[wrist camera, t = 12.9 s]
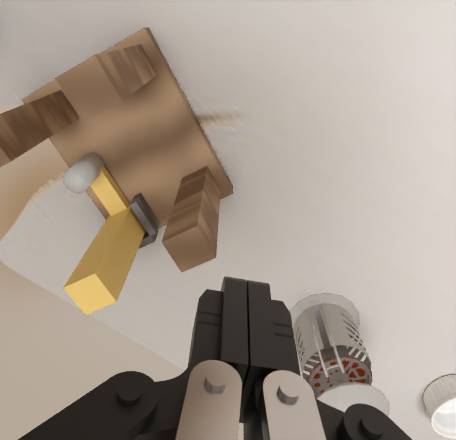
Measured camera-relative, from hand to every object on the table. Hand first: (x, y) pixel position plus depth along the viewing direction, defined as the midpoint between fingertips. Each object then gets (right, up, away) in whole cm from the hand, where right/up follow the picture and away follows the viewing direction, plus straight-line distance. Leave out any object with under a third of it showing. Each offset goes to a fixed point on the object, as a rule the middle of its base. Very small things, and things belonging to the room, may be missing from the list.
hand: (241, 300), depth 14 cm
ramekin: (+32, -22, +46) cm, 60 cm away
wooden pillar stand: (-10, +11, +30) cm, 33 cm away
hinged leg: (-13, +6, +30) cm, 33 cm away
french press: (+12, -10, +40) cm, 43 cm away
